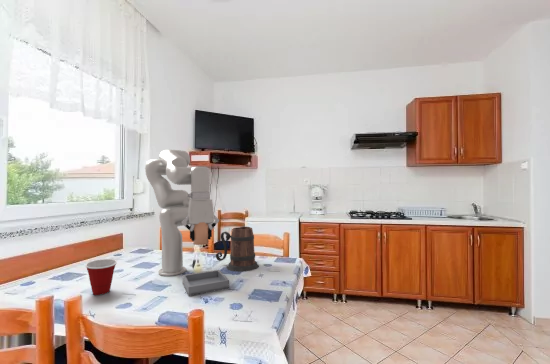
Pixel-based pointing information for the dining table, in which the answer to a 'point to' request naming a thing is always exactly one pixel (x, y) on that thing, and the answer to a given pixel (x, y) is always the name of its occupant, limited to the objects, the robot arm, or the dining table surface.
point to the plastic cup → (101, 275)
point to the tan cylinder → (200, 233)
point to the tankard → (240, 250)
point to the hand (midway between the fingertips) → (201, 239)
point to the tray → (205, 282)
